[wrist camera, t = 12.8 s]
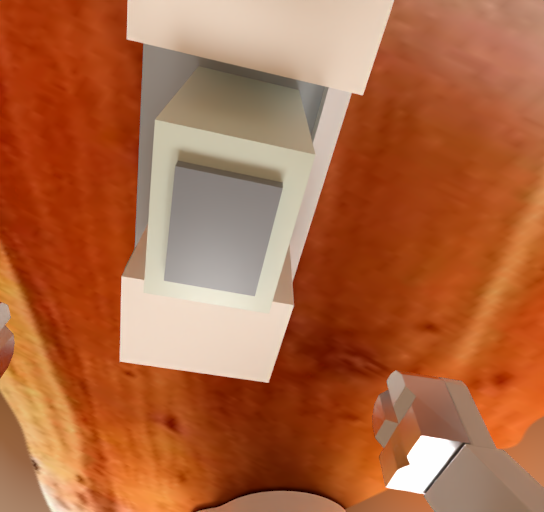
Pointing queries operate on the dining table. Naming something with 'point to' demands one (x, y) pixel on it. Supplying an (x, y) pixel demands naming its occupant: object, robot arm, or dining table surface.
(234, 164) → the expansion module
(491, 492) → the robot arm
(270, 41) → the rail board
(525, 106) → the dining table surface
